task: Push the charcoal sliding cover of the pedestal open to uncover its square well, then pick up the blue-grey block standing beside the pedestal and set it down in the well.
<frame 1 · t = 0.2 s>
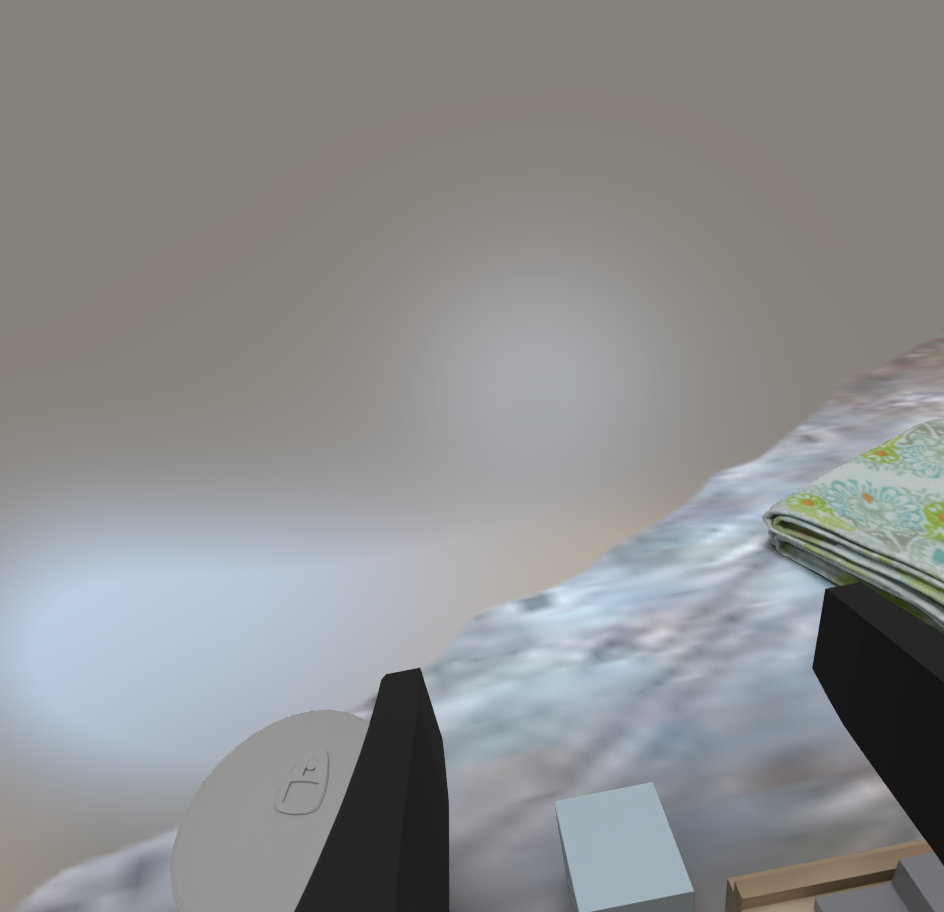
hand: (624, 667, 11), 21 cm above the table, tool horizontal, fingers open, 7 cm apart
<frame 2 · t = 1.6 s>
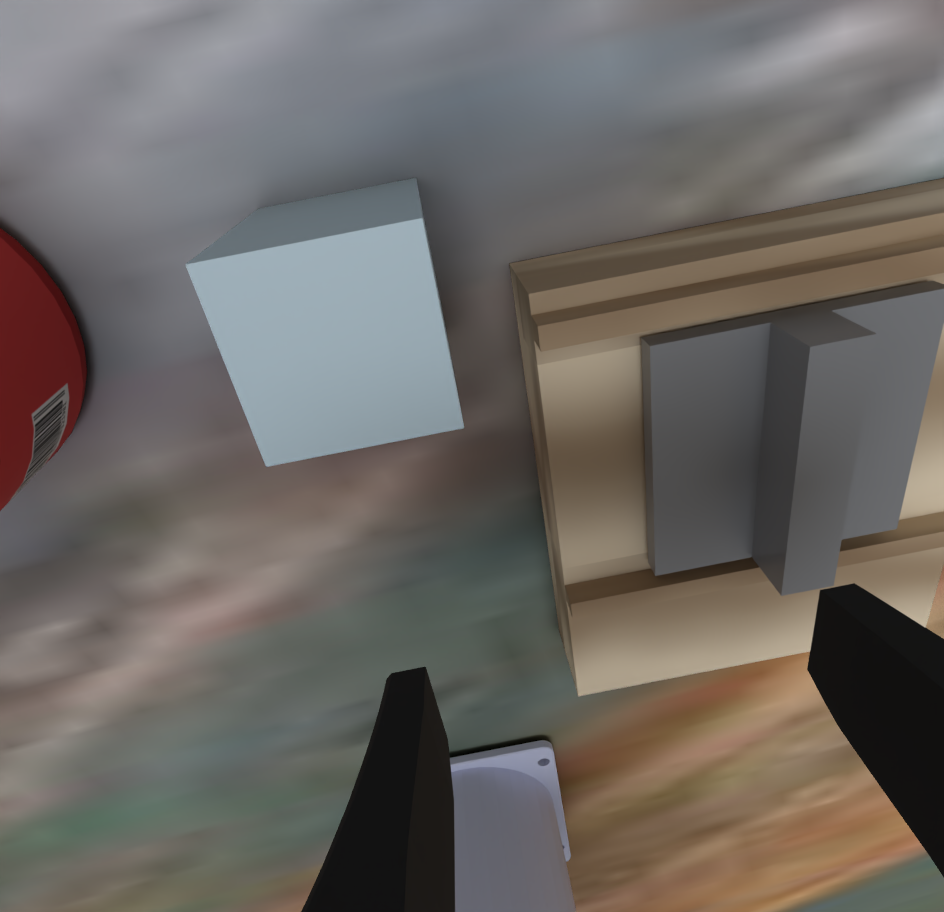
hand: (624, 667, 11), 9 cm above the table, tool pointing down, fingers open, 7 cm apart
pedestal: (720, 444, 20), on the table
block: (358, 273, 16), on the table
cover: (797, 457, 16), point 4 cm above the table, slide at 0.0 cm
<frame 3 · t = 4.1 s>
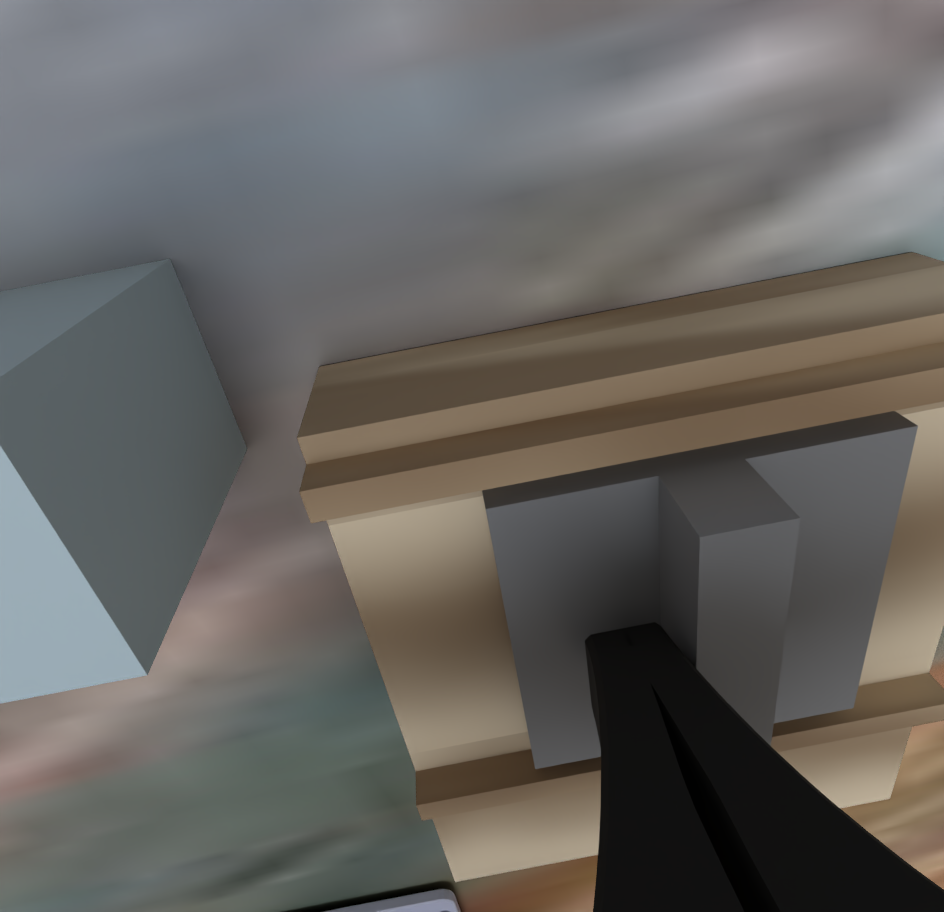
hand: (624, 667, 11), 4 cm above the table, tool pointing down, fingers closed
pedestal: (628, 573, 16), on the table
block: (111, 380, 12), on the table
cover: (708, 643, 11), point 4 cm above the table, slide at 0.2 cm, touching gripper
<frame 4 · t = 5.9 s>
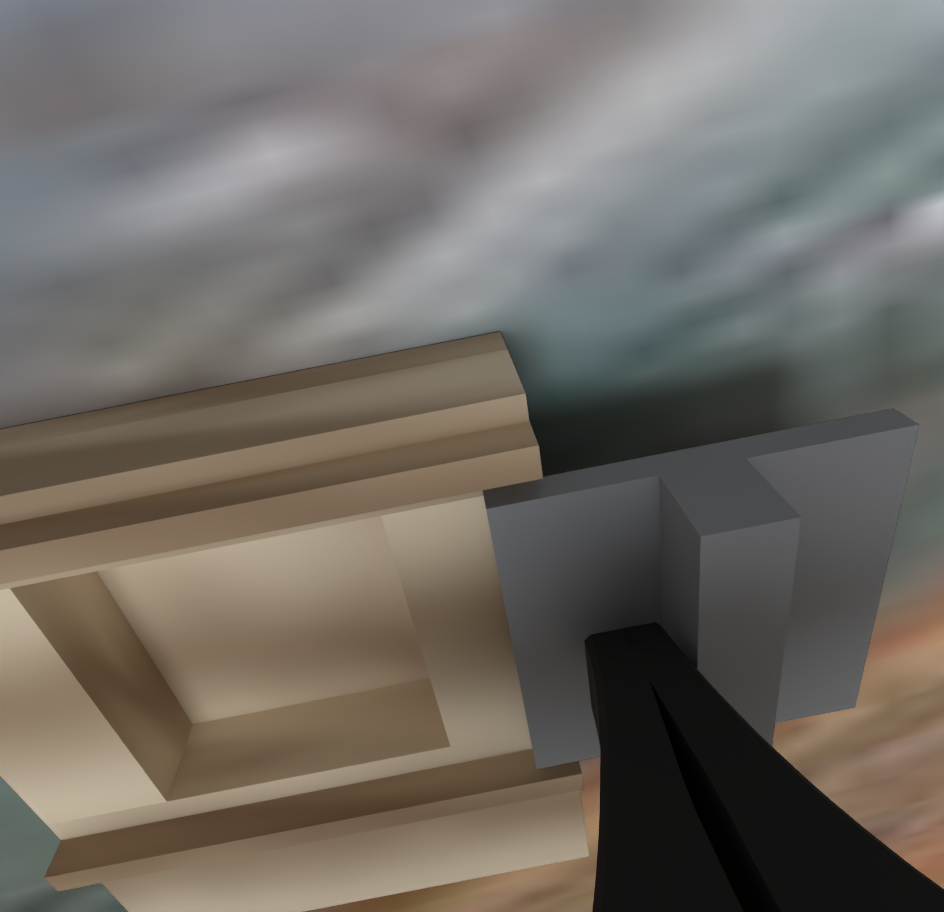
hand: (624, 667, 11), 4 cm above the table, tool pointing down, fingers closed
pedestal: (309, 635, 16), on the table
cover: (709, 643, 11), point 4 cm above the table, slide at 8.5 cm, touching gripper
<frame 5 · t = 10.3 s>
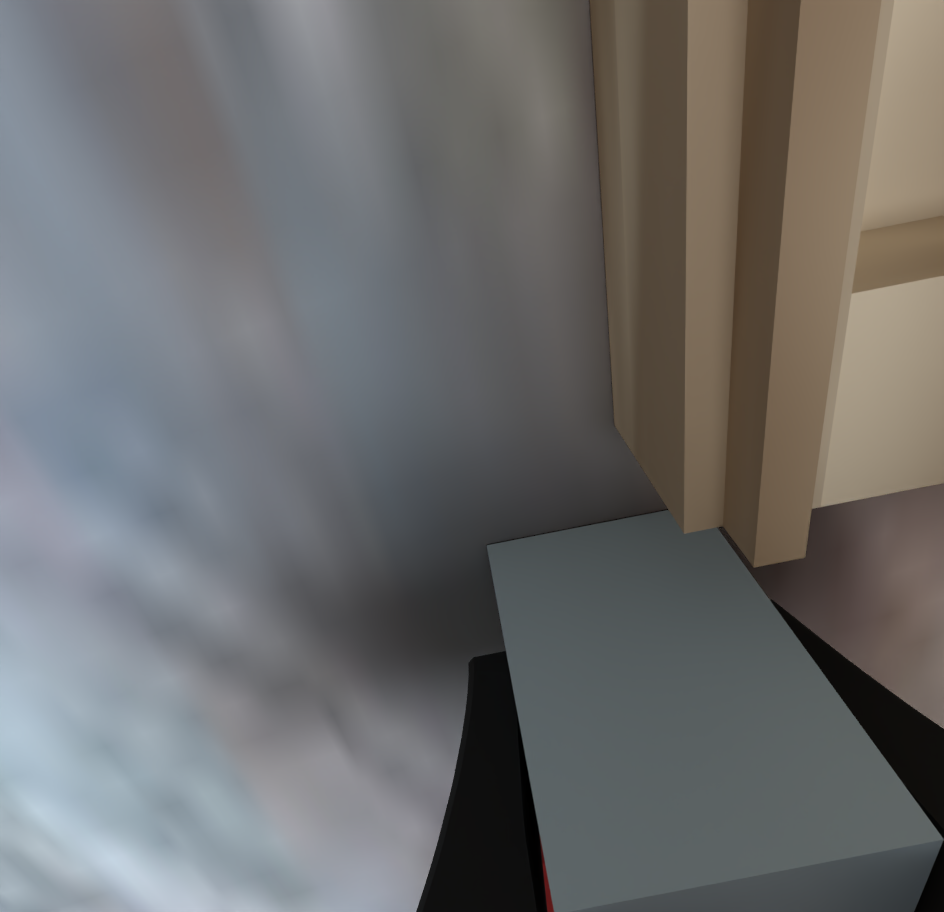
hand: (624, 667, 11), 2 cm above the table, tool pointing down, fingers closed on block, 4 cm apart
block: (599, 603, 12), on the table, touching gripper
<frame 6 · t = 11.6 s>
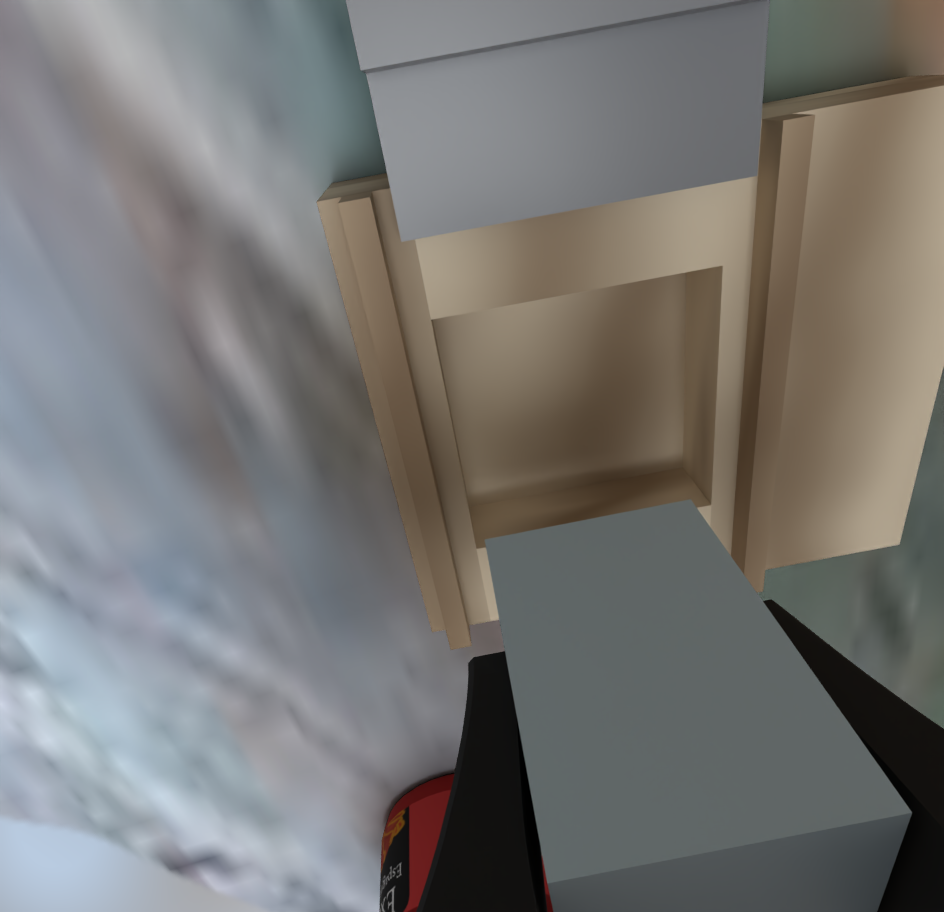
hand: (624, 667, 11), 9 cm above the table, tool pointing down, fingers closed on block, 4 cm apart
pedestal: (628, 362, 18), on the table
block: (594, 595, 13), point 7 cm above the table, touching gripper
canned food: (469, 812, 29), on the table
when the fingers open (5 cm above the table, at t = 13.0 s): block drops 2 cm, resting on pedestal.
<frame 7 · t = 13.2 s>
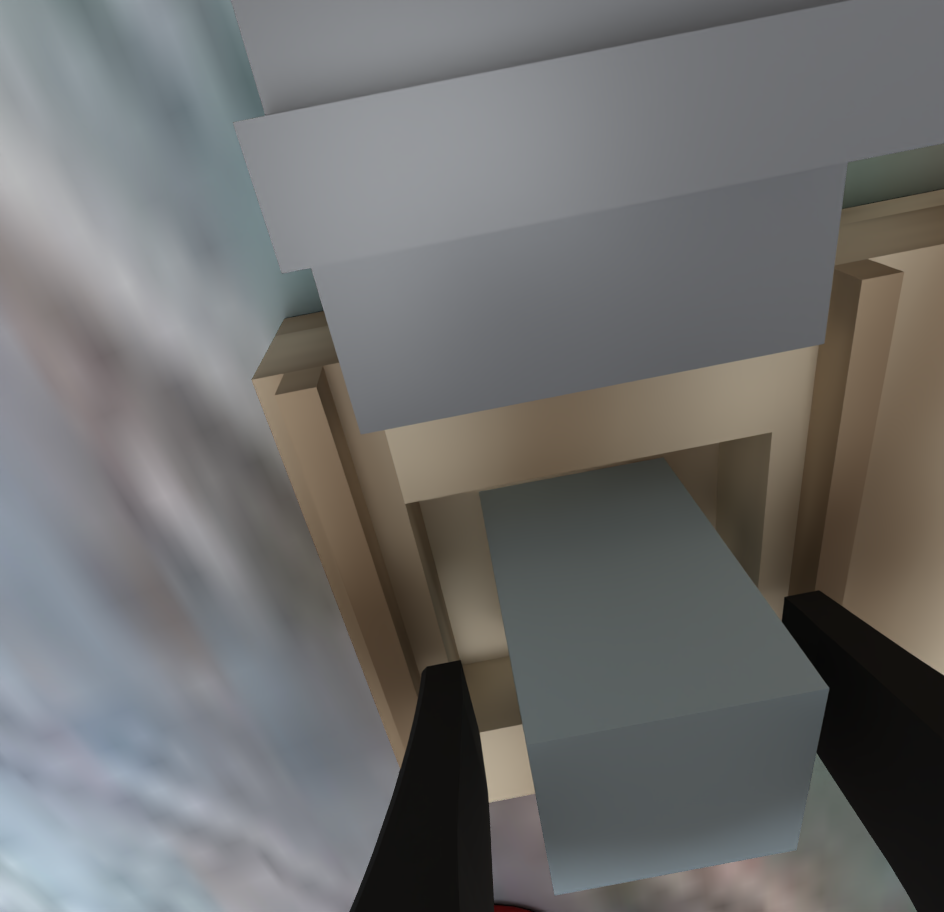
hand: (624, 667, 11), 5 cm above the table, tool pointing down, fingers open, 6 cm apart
pedestal: (647, 500, 15), on the table
block: (577, 547, 14), point 1 cm above the table, touching pedestal
cover: (582, 128, 7), point 4 cm above the table, slide at 8.6 cm
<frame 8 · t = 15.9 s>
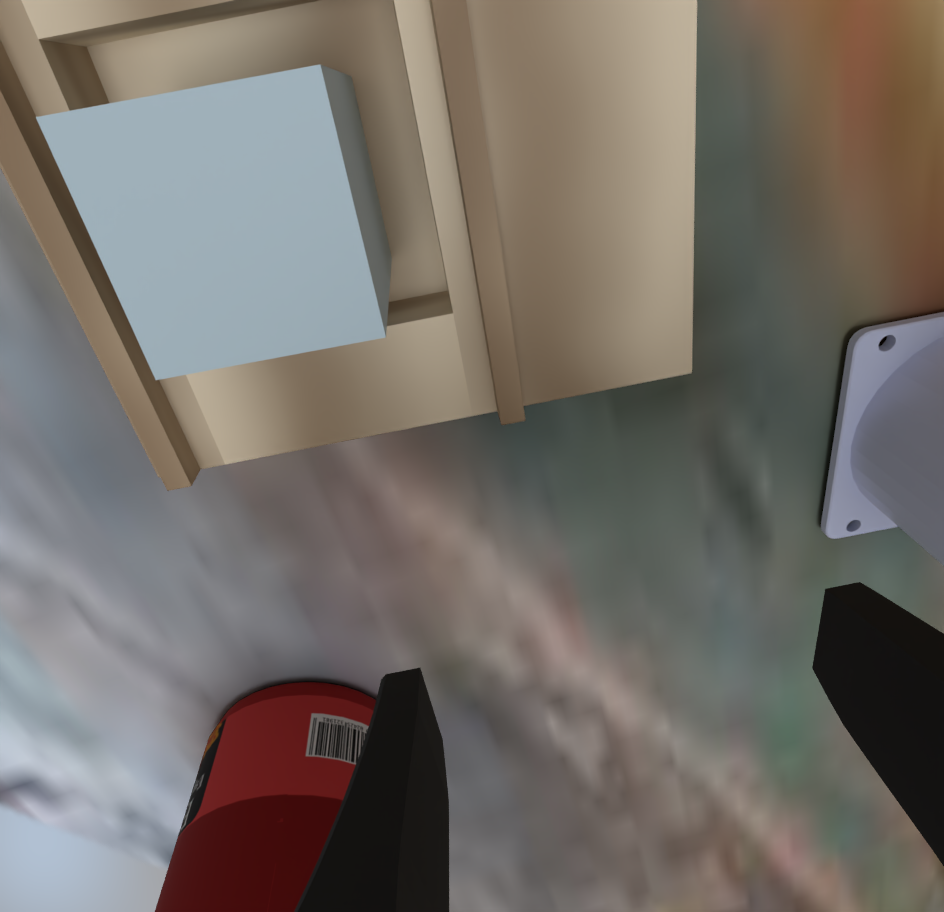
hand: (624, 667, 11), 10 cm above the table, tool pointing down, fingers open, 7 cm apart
pedestal: (372, 161, 16), on the table
block: (290, 189, 15), point 1 cm above the table, touching pedestal
canned food: (310, 733, 26), on the table
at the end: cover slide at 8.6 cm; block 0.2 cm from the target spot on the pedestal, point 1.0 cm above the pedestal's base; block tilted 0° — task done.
